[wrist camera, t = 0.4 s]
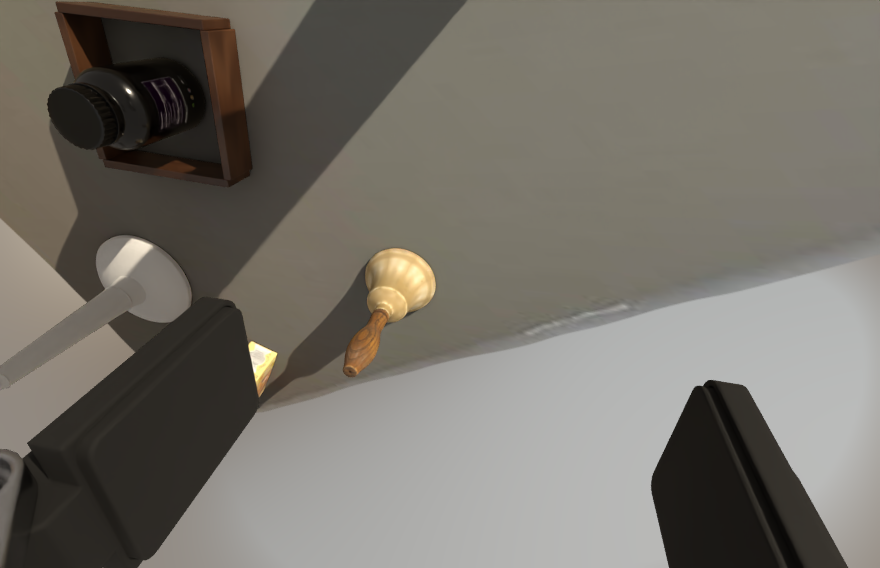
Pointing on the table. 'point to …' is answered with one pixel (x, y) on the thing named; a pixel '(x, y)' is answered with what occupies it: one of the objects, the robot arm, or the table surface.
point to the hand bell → (389, 300)
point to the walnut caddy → (224, 82)
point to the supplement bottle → (127, 104)
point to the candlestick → (112, 300)
